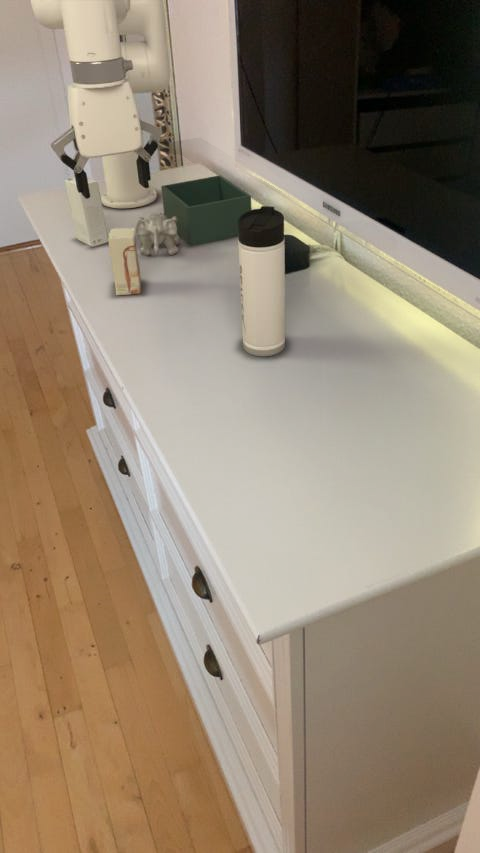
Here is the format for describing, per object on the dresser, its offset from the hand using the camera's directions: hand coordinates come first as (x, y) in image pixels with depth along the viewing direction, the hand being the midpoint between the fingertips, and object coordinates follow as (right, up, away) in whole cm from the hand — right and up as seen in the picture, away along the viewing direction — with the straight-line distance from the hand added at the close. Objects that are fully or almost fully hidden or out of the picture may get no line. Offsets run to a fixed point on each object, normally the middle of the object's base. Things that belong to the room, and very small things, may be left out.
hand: (115, 191), depth 112 cm
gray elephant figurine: (+5, -5, +22) cm, 23 cm away
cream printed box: (+1, -14, +10) cm, 17 cm away
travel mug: (+24, -26, -7) cm, 36 cm away
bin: (+13, +3, +32) cm, 35 cm away
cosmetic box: (-10, -1, +29) cm, 31 cm away
